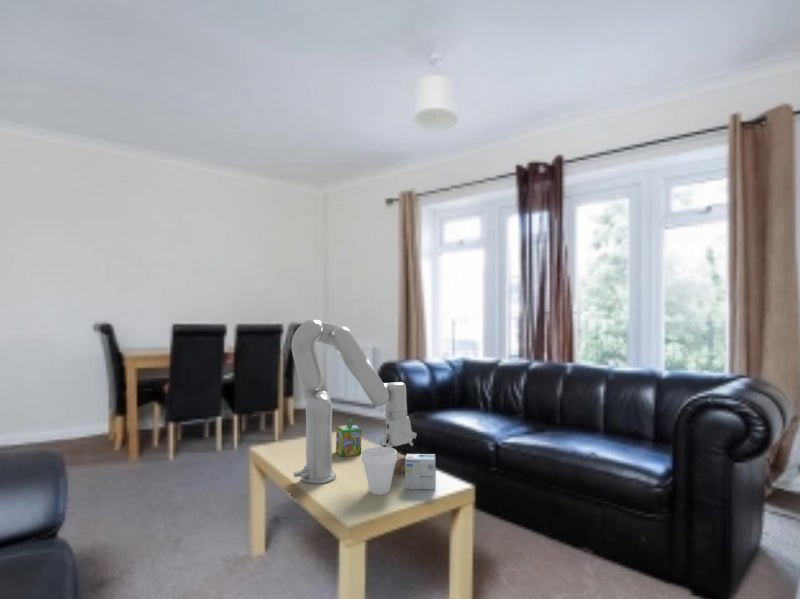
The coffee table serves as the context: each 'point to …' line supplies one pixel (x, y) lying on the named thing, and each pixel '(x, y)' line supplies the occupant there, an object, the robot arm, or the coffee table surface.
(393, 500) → the coffee table surface
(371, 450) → the cup
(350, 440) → the chalk box
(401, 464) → the walnut block
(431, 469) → the light bulb box
